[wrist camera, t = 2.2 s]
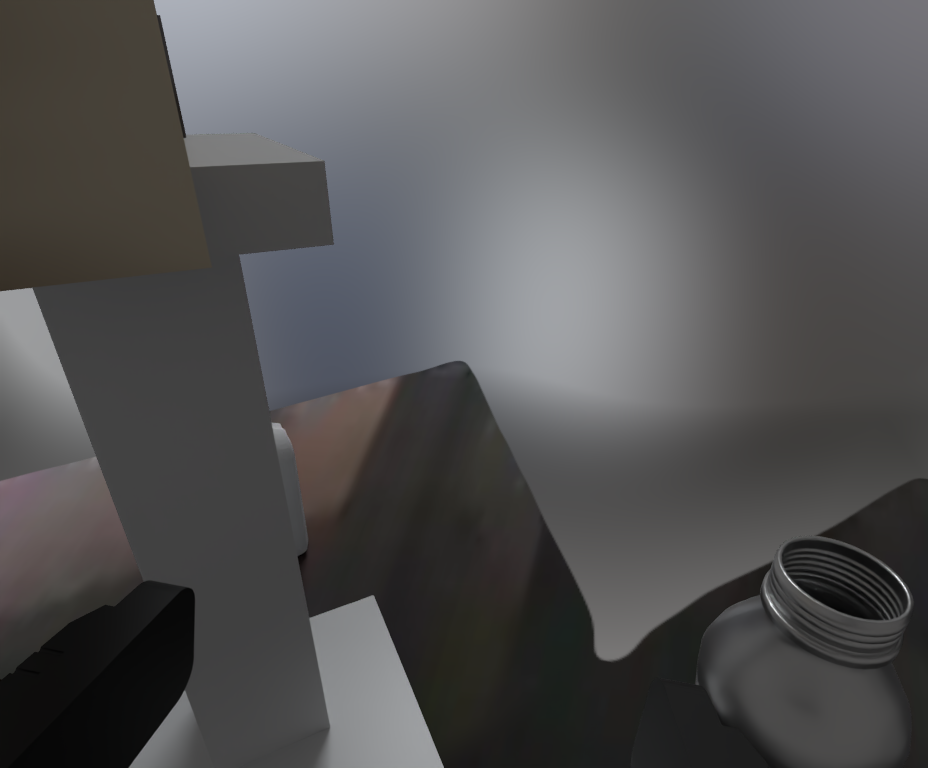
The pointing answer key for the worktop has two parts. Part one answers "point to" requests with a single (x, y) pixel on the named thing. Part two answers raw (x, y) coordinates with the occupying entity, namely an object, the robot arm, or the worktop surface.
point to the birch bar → (91, 146)
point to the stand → (229, 487)
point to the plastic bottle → (815, 660)
